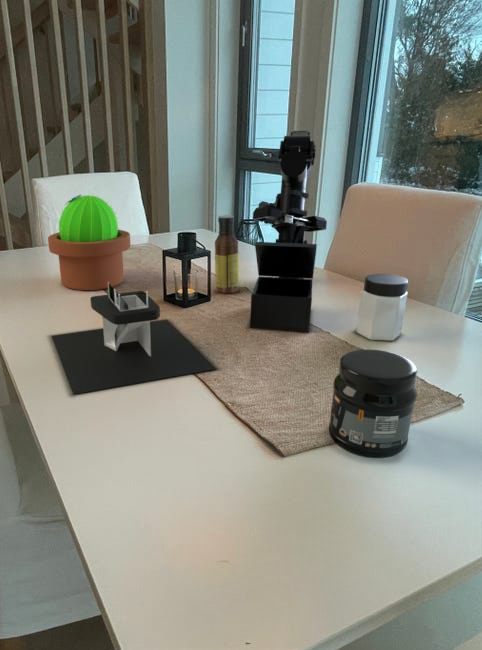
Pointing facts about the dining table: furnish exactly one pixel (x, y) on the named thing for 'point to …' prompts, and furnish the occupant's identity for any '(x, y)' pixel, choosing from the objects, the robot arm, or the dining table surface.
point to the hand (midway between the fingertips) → (287, 255)
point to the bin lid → (285, 259)
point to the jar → (382, 307)
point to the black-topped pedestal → (126, 346)
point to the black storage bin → (281, 304)
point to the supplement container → (373, 403)
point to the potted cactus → (89, 245)
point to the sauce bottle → (226, 257)
